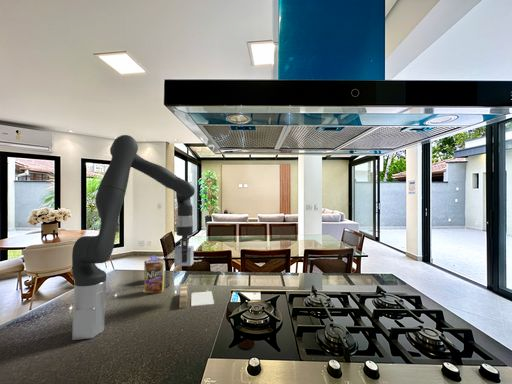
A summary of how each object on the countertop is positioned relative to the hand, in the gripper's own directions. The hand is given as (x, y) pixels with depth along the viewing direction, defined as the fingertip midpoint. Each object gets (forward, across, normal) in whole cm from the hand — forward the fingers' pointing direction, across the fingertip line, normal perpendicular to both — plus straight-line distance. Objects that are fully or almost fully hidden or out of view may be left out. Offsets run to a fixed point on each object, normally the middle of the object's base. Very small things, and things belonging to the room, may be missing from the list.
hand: (184, 260), depth 116 cm
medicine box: (+2, 0, 0) cm, 2 cm away
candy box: (+18, +14, +14) cm, 27 cm away
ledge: (+18, -2, 0) cm, 18 cm away
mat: (+18, -2, -8) cm, 20 cm away
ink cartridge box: (+19, +33, +17) cm, 42 cm away
